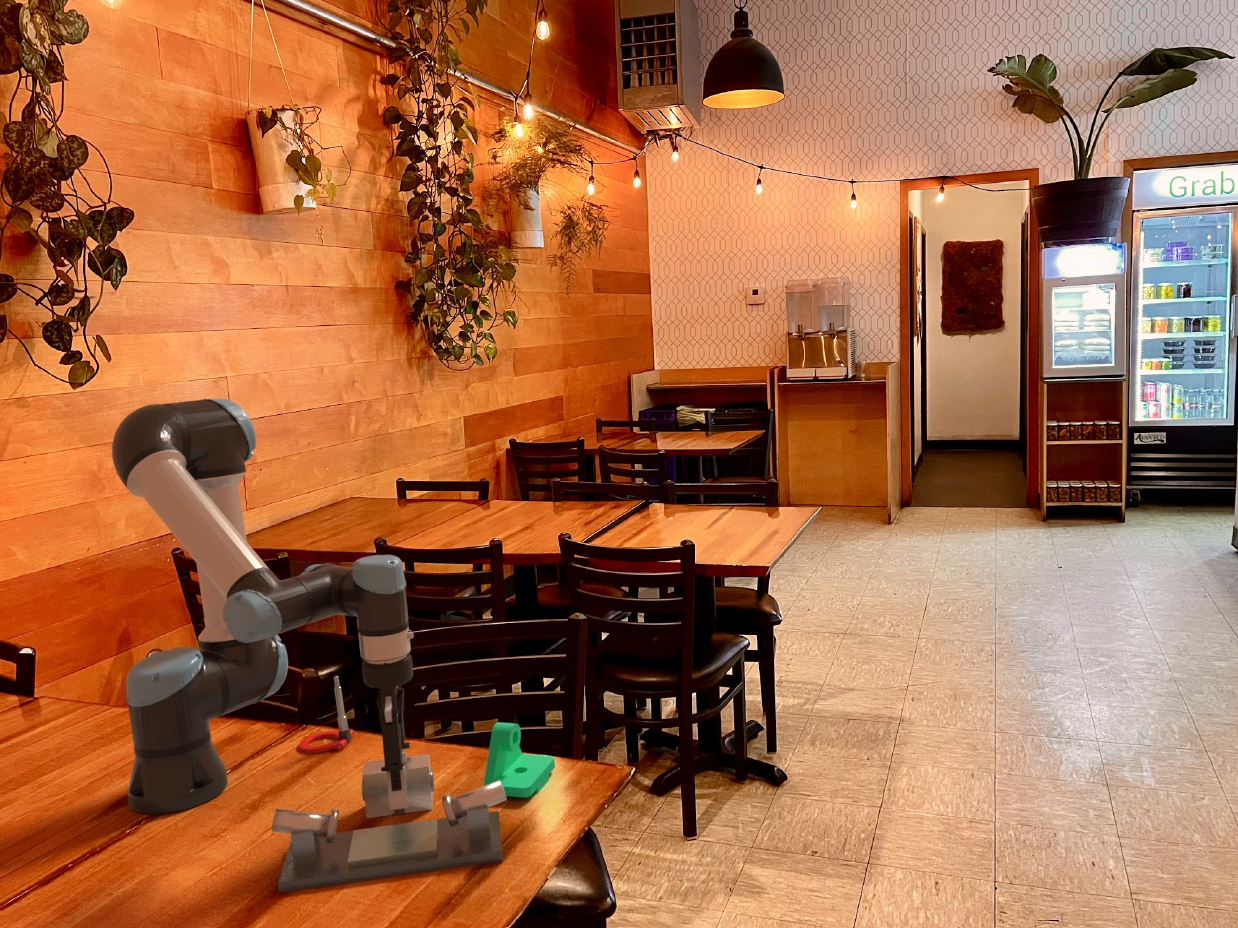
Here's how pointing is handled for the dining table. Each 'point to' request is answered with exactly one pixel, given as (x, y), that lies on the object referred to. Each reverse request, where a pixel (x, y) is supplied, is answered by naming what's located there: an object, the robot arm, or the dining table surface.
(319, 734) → the tow hook
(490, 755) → the camera mount
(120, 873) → the dining table surface
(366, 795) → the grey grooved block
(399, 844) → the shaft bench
